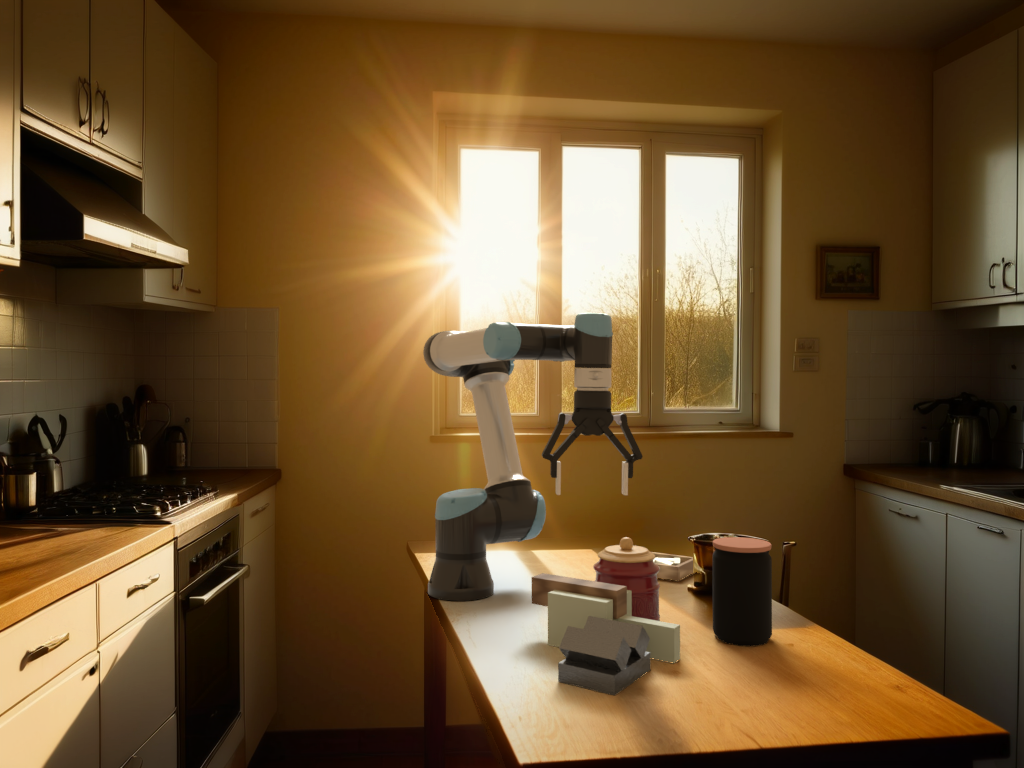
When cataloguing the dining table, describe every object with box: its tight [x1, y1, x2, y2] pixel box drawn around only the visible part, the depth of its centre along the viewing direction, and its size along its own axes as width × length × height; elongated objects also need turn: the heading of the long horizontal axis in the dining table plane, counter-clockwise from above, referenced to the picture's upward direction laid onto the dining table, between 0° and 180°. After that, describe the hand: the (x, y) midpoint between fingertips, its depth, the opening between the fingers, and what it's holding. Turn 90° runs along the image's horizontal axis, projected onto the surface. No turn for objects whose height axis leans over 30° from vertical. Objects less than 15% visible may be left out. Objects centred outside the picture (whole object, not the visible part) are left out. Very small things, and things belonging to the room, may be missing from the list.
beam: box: [547, 590, 681, 664], centre depth 140 cm, size 23×10×10 cm, turn 55°
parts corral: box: [650, 551, 693, 581], centre depth 200 cm, size 14×13×4 cm
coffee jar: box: [712, 536, 773, 647], centre depth 147 cm, size 11×11×18 cm
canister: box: [592, 536, 661, 621], centre depth 154 cm, size 13×13×18 cm
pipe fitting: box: [653, 558, 680, 566], centre depth 200 cm, size 8×4×7 cm
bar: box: [531, 572, 627, 619], centre depth 145 cm, size 18×4×5 cm, turn 55°
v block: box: [557, 616, 651, 696], centre depth 127 cm, size 10×13×8 cm
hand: (591, 494), depth 158 cm, fingers open, 13 cm apart
